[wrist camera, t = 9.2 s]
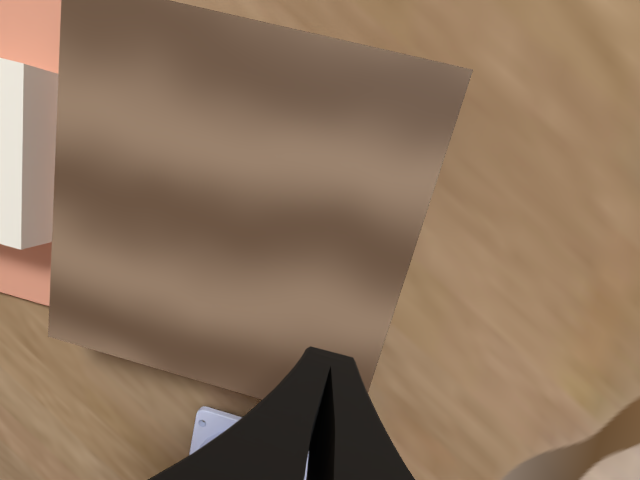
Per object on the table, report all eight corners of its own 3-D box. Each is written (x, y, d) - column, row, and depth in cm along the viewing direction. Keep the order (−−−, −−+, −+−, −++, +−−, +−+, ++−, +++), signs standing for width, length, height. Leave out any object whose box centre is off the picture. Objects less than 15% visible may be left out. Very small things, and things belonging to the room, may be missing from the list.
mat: (90, 314, 21) (85, 316, 20) (-53, 272, 21) (-60, 274, 21) (114, -7, 16) (108, -11, 16) (-66, -49, 17) (-76, -54, 17)
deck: (356, 375, 20) (356, 427, 16) (106, 303, 20) (48, 336, 17) (444, 93, 16) (473, 69, 12) (131, 20, 17) (62, -25, 13)
